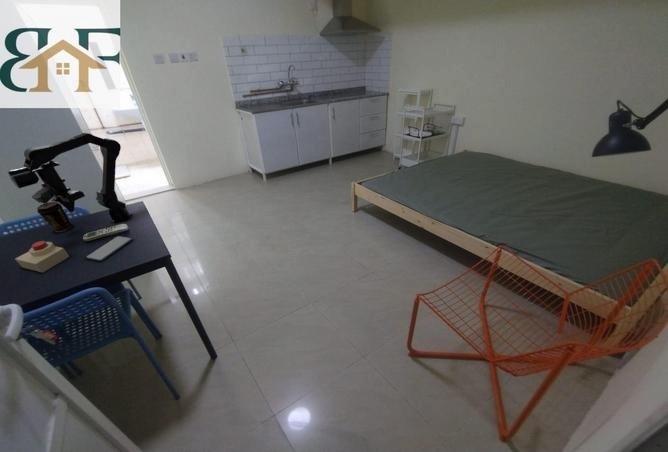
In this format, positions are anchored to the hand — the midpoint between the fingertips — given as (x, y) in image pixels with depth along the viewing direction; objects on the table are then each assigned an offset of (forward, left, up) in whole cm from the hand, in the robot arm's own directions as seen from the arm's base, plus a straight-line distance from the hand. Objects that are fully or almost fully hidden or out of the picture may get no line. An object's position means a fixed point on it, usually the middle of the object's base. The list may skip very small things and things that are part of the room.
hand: (72, 211), depth 123 cm
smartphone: (-15, +18, -12) cm, 26 cm away
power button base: (+8, +18, -12) cm, 23 cm away
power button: (+7, +17, -6) cm, 19 cm away
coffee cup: (+13, -10, -12) cm, 20 cm away
